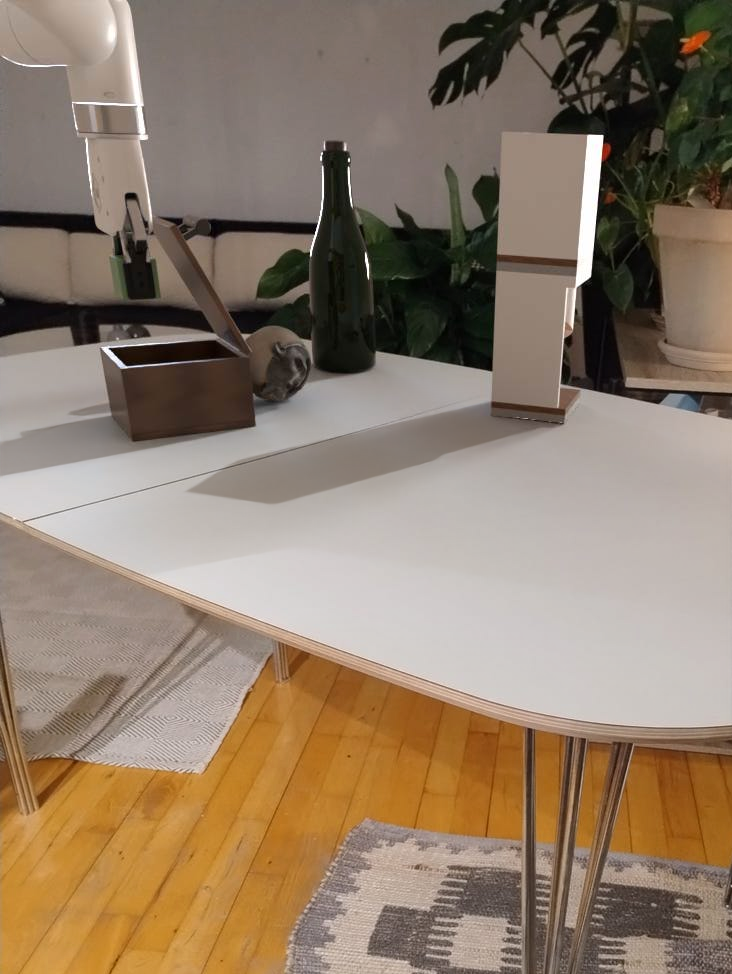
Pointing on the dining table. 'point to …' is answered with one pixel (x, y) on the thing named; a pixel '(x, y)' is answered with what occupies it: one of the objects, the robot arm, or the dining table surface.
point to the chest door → (197, 275)
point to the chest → (178, 388)
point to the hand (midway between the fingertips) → (137, 293)
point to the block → (119, 277)
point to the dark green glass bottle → (340, 275)
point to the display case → (541, 267)
